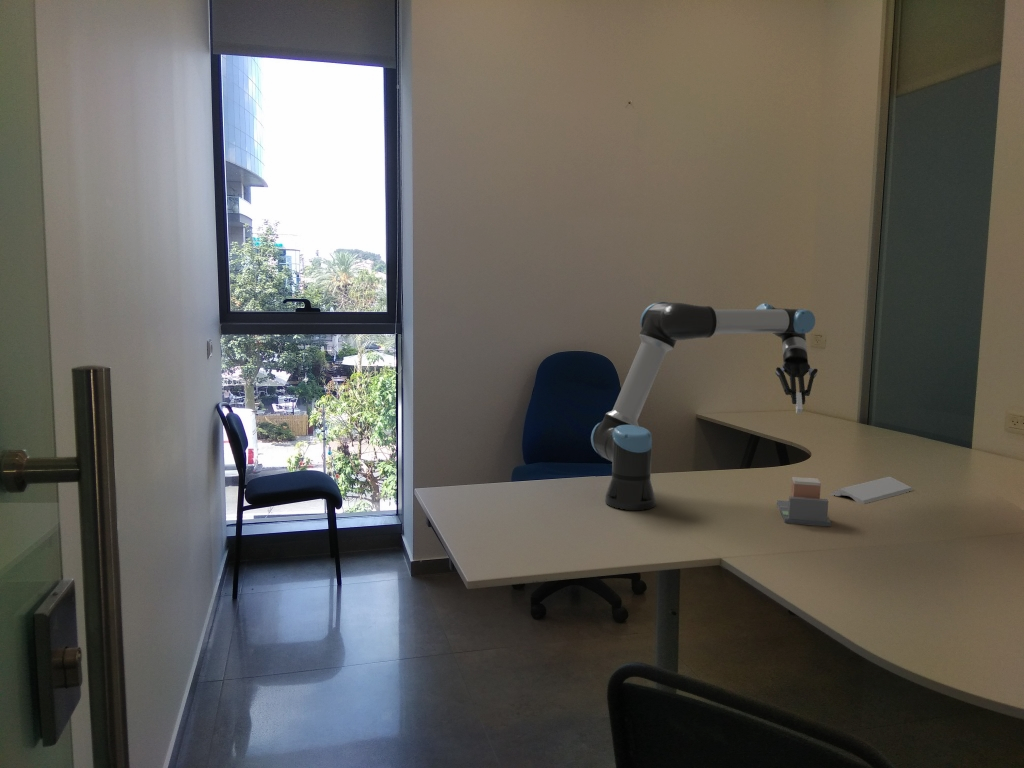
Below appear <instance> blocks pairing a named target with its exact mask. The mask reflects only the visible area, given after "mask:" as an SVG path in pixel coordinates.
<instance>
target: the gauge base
mask: <svg viewBox="0 0 1024 768" xmlns="http://www.w3.org/2000/svg"><path fill="white" fill-rule="evenodd" d="M776 505H777V508H778V510H779V512H780V515H781V517H782V519H783V522H784V523H785V524H793V525H795V524H796V525H807V526H818V527H819V526H820V527H829V526H830V527H831V525H832V522H831V520H830V519H829V517H828V512H829V511H828V510H829V500H828V499H827V498H820V499H818V498H804V497H791V495H789V496H788V500H780V499H779V500H777V501H776ZM830 527H829V528H830Z"/></svg>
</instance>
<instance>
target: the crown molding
mask: <svg viewBox="0 0 1024 768" xmlns="http://www.w3.org/2000/svg"><path fill="white" fill-rule="evenodd" d="M909 491H911V492H913V491H914V489H913V488H912V487H911V486H909V485H907V484H906V483H903V482H901V481H899V480H898V479H895V478H893V477H892V476H886V477H882V478H877V479H874V480H870V481H866V482H862V483H857V484H854V485H848V486H845V487H841V488H839V489H837V490H835V491H832V493H829V494H828V495H829V496H832V495H833V496H834V495H835V497H842V496H847V497H850V498H851V499H853V500H854V502H855V503H860V504H862V505H866V504H869V502H870V503H874V502H876V501H880V500H884V499H887V498H891V497H896V496H898V495H899V496H900V495H902V494H906V492H907V493H910V492H909ZM833 496H832V497H833ZM865 503H866V504H865Z"/></svg>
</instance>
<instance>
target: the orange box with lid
mask: <svg viewBox="0 0 1024 768" xmlns="http://www.w3.org/2000/svg"><path fill="white" fill-rule="evenodd" d="M821 486H822V482H821V481H820V480H819V478H817V477H816V478H814V477H799V476H791V487H790V488H791V489H790V496H791V497H804V498H818V499H821V488H822V487H821Z"/></svg>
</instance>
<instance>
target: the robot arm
mask: <svg viewBox="0 0 1024 768" xmlns="http://www.w3.org/2000/svg"><path fill="white" fill-rule="evenodd" d="M815 325H816V316H815V315H814V313H813V312H812V311H811V310H809V309H804V308H797V309H796V308H779V307H778V308H777V307H775V306H773V305H771V304H769V303H767V302H764V303H760V304H759V305H757V307H756V308H755V309H750V308H749V309H748V308H747V309H745V308H744V309H741V308H740V309H715V308H714V307H713V306H709V305H708V306H705V305H704V306H703V305H696V304H695V305H694V304H691V303H690V304H689V303H684V302H668V301H658V302H654V303H652V304H650V305H648V306H647V307H646V308H645V309H644V310H643V312H642V314H641V316H640V327H641V330H640V333H639V334H638V335H639V336H638V337H639V339H640V341H641V343H640V344H639V347H638V350H637V352H636V354H635V357H634V359H633V361H632V363H631V366H630V368H629V371H628V374H627V375H626V377H625V379H624V382H623V385H622V386H621V389H620V392H619V394H618V396H617V399H616V401H615V403H614V406H613V408H612V410H611V411H608V412H606V413H604V417H603V420H601V422H598V423H597V424H595V426H594V427H593V429H592V431H591V435H590V442H591V446H592V448H593V449H594V451H595V452H596V453H597V454H598V455H599V456H600V457H601V458H603V459H606V460H607V461H610V462H612V463H611V466H612V467H611V479H610V482H609V485H608V487H607V491H606V494H605V497H604V498H605V499H604V500H605V504H606V505H607V504H608V505H607V506H609V505H610V506H609V507H611V506H612V507H611V508H614V507H615V508H614V509H618V508H620V509H619V510H623V509H625V510H626V511H645V510H644V509H646V510H651V509H653V508H655V506H656V495H655V491H654V489H653V485H652V484H653V483H652V481H651V475H652V474H651V472H652V453H653V452H652V448H653V438H652V437H653V435H652V432H651V431H650V430H649V429H647V428H646V427H643V426H640V425H639V422H638V419H639V417H640V415H641V412H642V411H643V407H644V405H645V403H646V401H647V399H648V396H649V394H650V391H651V389H652V386H654V385H653V384H654V382H655V380H656V378H657V375H658V373H659V370H660V368H661V366H662V364H663V361H664V359H665V356H666V355H667V353H668V352H670V351H673V349H674V348H675V345H676V343H677V341H685V340H687V341H688V340H693V339H706V338H712V337H713V336H714V335H727V334H728V335H734V334H735V335H738V334H739V335H741V334H745V335H747V334H773V335H775V336H777V337H778V338H780V339H781V343H782V345H781V346H782V360H783V364H782V366H781V367H779V366H778V367H776V368H775V375H776V376H777V377H778V378H779V381H780V384H781V386H782V388H783V389H782V390H783V392H784V393H785V396H790V398H791V404H792V405H795V413H796V415H802V413H803V410H804V408H803V405H805V403H806V397H809V396H810V395H811V391H812V387H813V384H814V383H813V382H814V379H815V378H816V376H817V374H818V368H812V367H811V366H810V364H809V359H808V350H807V349H808V348H807V338H806V336H807V335H806V334H808V333H810V332H812V330H813V329H814V327H815ZM785 373H786V374H785ZM807 374H808V375H809V378H808V383H807V387H806V389H805V376H806V375H807ZM786 375H787V376H789V383H790V385H789V383H788V380H787V377H786ZM796 378H797V380H798V391H797V384H796ZM652 507H653V508H652ZM625 510H624V511H625Z"/></svg>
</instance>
